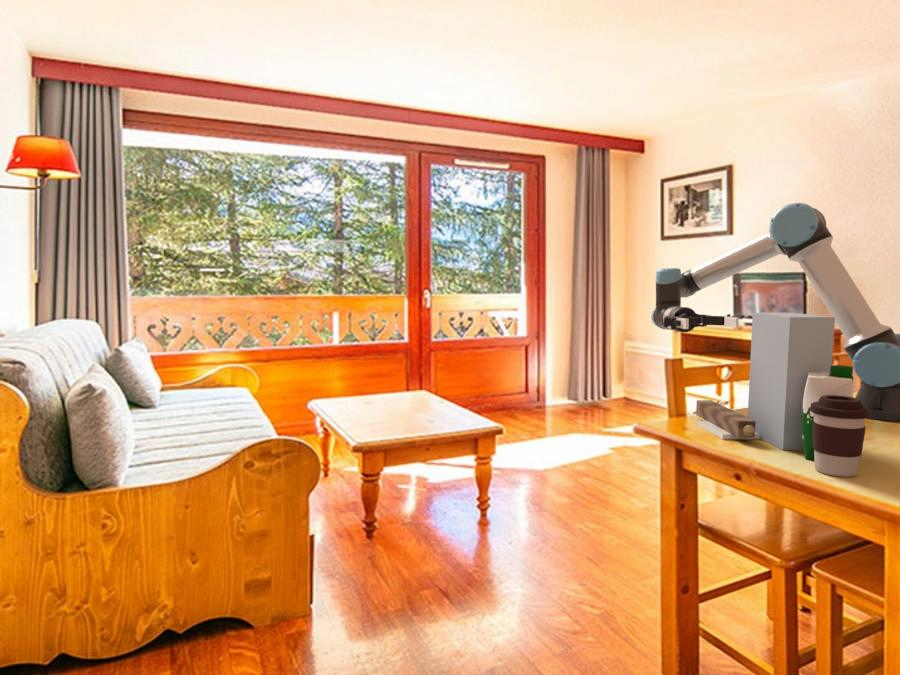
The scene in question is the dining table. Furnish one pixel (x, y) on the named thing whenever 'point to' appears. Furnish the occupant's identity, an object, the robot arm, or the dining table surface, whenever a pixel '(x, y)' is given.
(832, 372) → the milk carton
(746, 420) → the pepper mill
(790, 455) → the dining table surface
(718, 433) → the plate
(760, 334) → the stand
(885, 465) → the dining table surface
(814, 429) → the coffee cup
